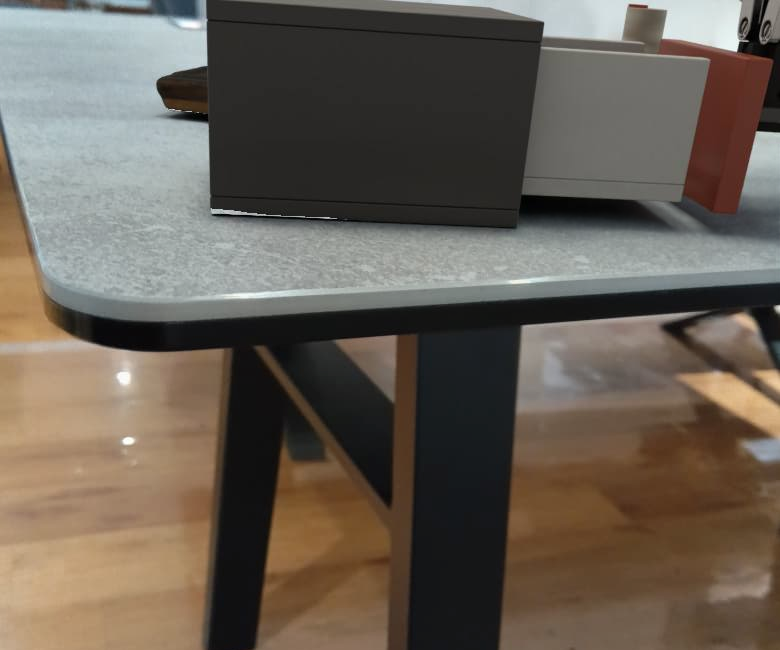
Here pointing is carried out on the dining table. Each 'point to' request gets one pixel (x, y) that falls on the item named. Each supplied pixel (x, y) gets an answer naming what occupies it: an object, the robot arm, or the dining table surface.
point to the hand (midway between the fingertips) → (757, 128)
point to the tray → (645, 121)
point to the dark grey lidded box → (370, 109)
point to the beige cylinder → (644, 26)
